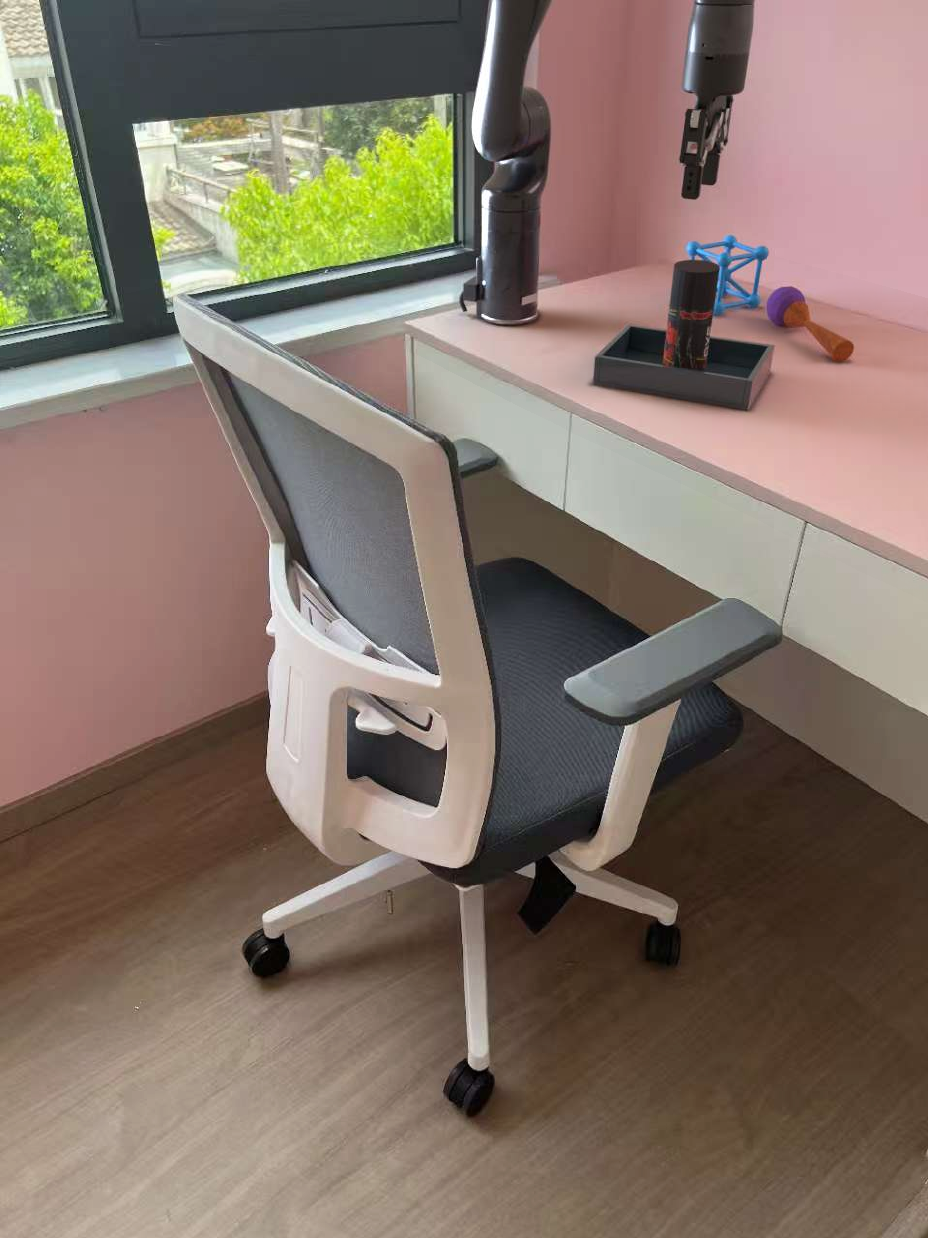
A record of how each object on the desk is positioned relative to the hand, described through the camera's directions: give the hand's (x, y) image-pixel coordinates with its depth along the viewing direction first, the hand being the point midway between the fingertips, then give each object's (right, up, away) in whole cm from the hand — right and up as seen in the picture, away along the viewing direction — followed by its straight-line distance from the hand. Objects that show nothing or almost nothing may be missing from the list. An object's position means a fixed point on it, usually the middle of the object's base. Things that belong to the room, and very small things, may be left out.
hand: (698, 191), depth 127 cm
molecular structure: (+13, -3, +38) cm, 40 cm away
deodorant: (+1, -21, +12) cm, 24 cm away
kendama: (+22, -12, +25) cm, 35 cm away
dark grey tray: (+1, -21, +12) cm, 24 cm away
